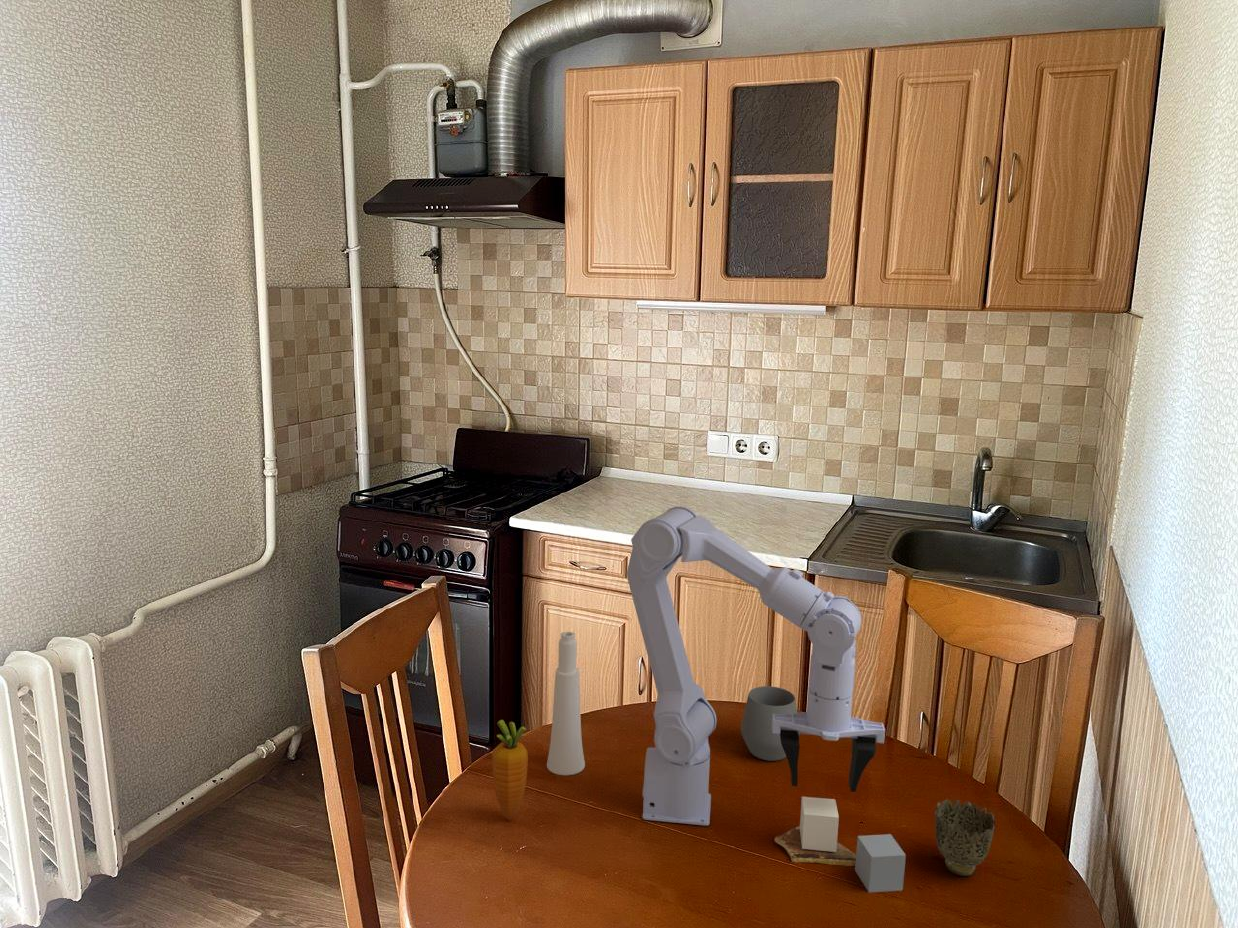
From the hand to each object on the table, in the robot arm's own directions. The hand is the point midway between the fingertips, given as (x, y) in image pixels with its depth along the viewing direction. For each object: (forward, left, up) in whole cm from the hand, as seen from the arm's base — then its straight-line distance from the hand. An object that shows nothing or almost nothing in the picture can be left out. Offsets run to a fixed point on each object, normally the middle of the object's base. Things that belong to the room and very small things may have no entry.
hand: (823, 784), depth 121 cm
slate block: (+7, -6, -9) cm, 13 cm away
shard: (0, 0, -10) cm, 10 cm away
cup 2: (+18, -2, -9) cm, 20 cm away
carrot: (-43, -1, -9) cm, 44 cm away
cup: (-6, +25, -9) cm, 27 cm away
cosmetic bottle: (-38, +15, -9) cm, 42 cm away
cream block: (0, 0, -8) cm, 8 cm away
